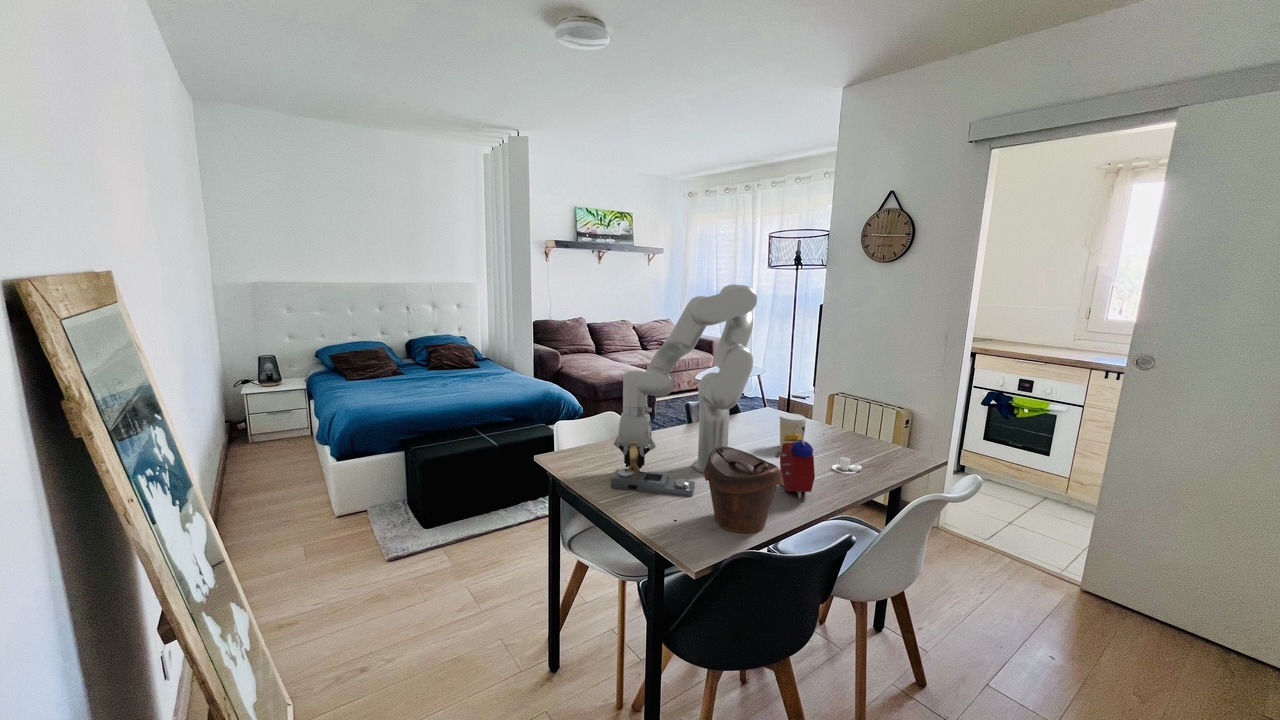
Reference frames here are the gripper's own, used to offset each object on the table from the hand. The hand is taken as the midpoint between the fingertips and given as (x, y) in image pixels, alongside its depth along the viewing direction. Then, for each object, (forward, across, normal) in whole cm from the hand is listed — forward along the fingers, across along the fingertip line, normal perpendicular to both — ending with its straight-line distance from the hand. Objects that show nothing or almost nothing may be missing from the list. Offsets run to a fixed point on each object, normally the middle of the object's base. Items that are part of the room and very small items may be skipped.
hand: (634, 465), depth 163 cm
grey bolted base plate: (+2, -8, +10) cm, 13 cm away
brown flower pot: (+2, -34, +26) cm, 43 cm away
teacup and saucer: (+3, -68, -17) cm, 70 cm away
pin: (+2, 0, 0) cm, 2 cm away
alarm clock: (+2, -48, +3) cm, 48 cm away
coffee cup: (+2, -51, -37) cm, 63 cm away
